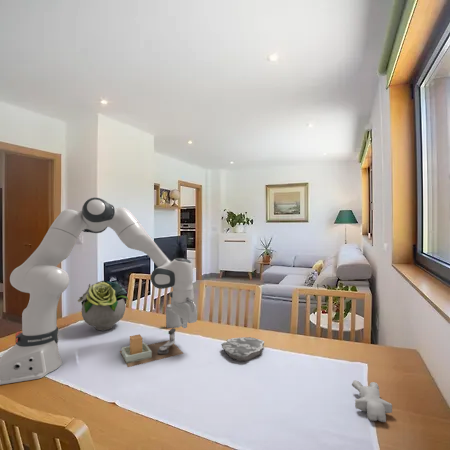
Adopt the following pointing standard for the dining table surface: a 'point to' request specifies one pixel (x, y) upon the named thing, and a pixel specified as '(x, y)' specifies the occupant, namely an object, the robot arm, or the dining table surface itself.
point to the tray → (136, 357)
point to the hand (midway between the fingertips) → (184, 327)
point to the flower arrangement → (103, 304)
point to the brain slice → (243, 348)
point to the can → (172, 318)
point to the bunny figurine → (371, 401)
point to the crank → (170, 342)
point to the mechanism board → (157, 353)
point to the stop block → (135, 344)
